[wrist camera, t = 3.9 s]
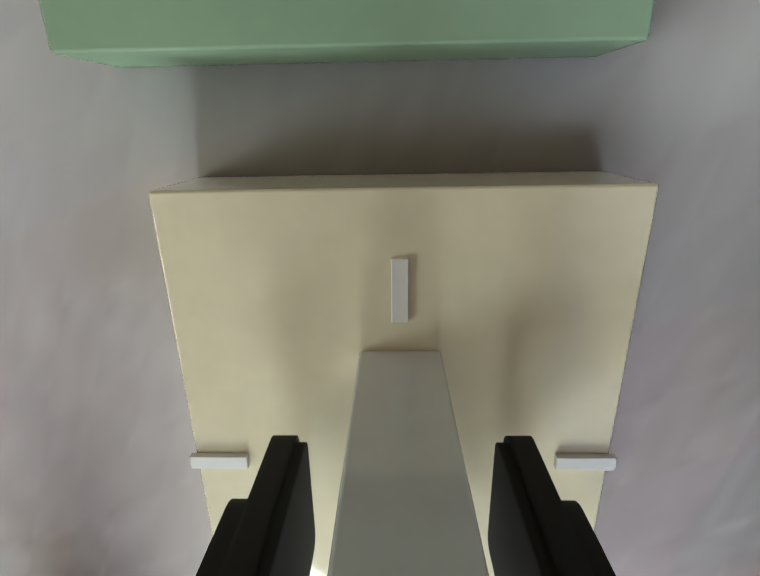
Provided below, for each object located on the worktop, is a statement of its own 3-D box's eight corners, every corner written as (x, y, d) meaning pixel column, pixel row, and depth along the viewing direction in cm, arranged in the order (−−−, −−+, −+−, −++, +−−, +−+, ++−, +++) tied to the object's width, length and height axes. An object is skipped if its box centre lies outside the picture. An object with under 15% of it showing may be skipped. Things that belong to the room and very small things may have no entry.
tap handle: (434, 552, 12) (469, 905, 7) (366, 552, 12) (345, 901, 7) (441, 349, 10) (499, 617, 5) (358, 349, 10) (319, 615, 5)
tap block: (549, 563, 15) (580, 648, 13) (252, 560, 16) (225, 643, 13) (608, 170, 11) (671, 184, 9) (193, 177, 11) (136, 192, 9)
